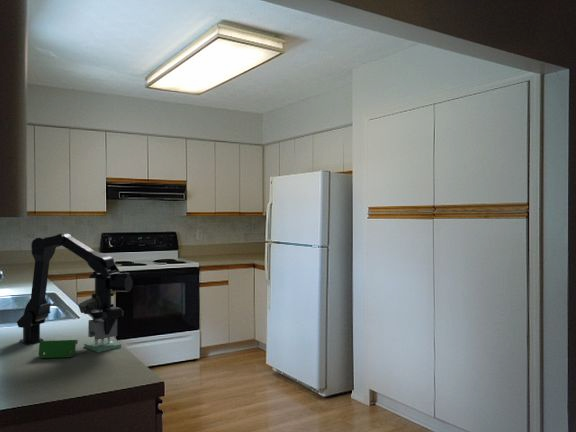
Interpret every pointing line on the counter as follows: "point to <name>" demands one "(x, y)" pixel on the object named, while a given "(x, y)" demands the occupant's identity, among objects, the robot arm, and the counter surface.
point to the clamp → (57, 348)
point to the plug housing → (100, 329)
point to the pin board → (102, 345)
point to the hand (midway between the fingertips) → (102, 332)
